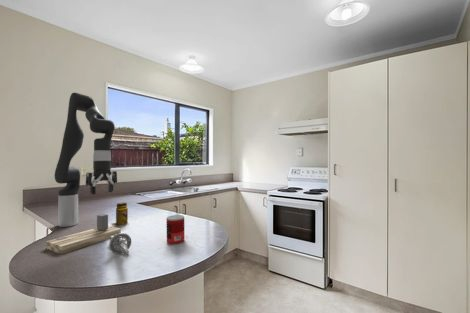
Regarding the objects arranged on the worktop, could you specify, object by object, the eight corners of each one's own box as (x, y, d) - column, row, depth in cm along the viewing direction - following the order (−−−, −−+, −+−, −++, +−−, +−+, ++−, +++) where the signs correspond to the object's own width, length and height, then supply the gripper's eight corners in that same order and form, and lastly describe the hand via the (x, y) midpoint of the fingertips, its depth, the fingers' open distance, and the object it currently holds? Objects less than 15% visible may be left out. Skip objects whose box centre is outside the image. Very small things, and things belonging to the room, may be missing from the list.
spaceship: (110, 250, 74) (134, 236, 79) (102, 233, 103) (120, 223, 108) (120, 271, 75) (144, 256, 79) (110, 248, 104) (128, 238, 109)
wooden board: (46, 248, 97) (46, 241, 97) (105, 231, 120) (105, 225, 120) (61, 254, 91) (61, 245, 91) (120, 234, 114) (120, 228, 114)
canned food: (187, 239, 107) (187, 215, 107) (178, 245, 99) (177, 219, 99) (173, 237, 109) (173, 214, 110) (163, 243, 102) (162, 218, 102)
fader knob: (96, 232, 112) (96, 215, 112) (102, 231, 114) (102, 213, 115) (102, 233, 110) (101, 216, 110) (108, 232, 113) (107, 214, 113)
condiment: (129, 224, 132) (129, 203, 132) (112, 227, 127) (112, 205, 128) (127, 221, 138) (127, 201, 138) (111, 224, 134) (111, 203, 134)
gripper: (111, 159, 120) (111, 190, 120) (82, 160, 108) (82, 194, 108) (120, 159, 117) (120, 191, 117) (92, 160, 104) (91, 195, 104)
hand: (102, 193), depth 112 cm, fingers open, 8 cm apart
